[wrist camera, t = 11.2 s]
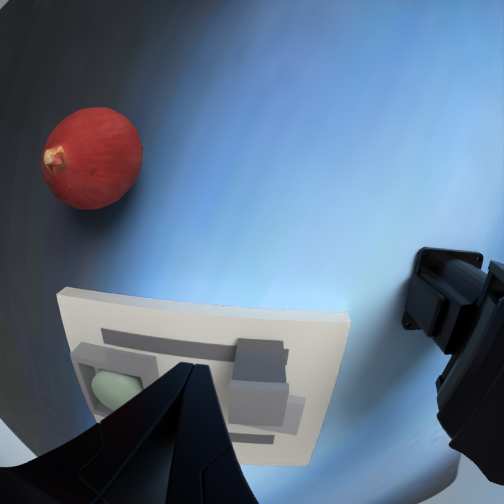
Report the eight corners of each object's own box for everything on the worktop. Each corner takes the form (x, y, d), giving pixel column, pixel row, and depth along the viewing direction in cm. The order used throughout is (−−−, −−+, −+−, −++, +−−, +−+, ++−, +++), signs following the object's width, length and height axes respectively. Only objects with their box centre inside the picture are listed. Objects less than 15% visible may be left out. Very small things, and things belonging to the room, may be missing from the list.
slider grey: (284, 339, 19) (289, 390, 15) (279, 375, 20) (282, 426, 16) (236, 336, 19) (228, 386, 15) (235, 372, 20) (228, 423, 16)
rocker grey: (305, 397, 19) (304, 405, 18) (298, 428, 20) (296, 435, 19) (236, 384, 20) (233, 391, 19) (235, 415, 21) (232, 422, 20)
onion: (117, 216, 19) (45, 250, 11) (74, 157, 18) (-6, 164, 10) (177, 159, 18) (120, 161, 10) (128, 98, 17) (56, 72, 9)
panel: (346, 311, 20) (358, 338, 17) (306, 454, 26) (308, 480, 22) (66, 286, 21) (42, 305, 18) (108, 429, 26) (97, 450, 23)
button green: (141, 368, 21) (135, 381, 19) (150, 406, 22) (144, 419, 20) (94, 358, 21) (85, 369, 19) (105, 395, 22) (98, 407, 20)
